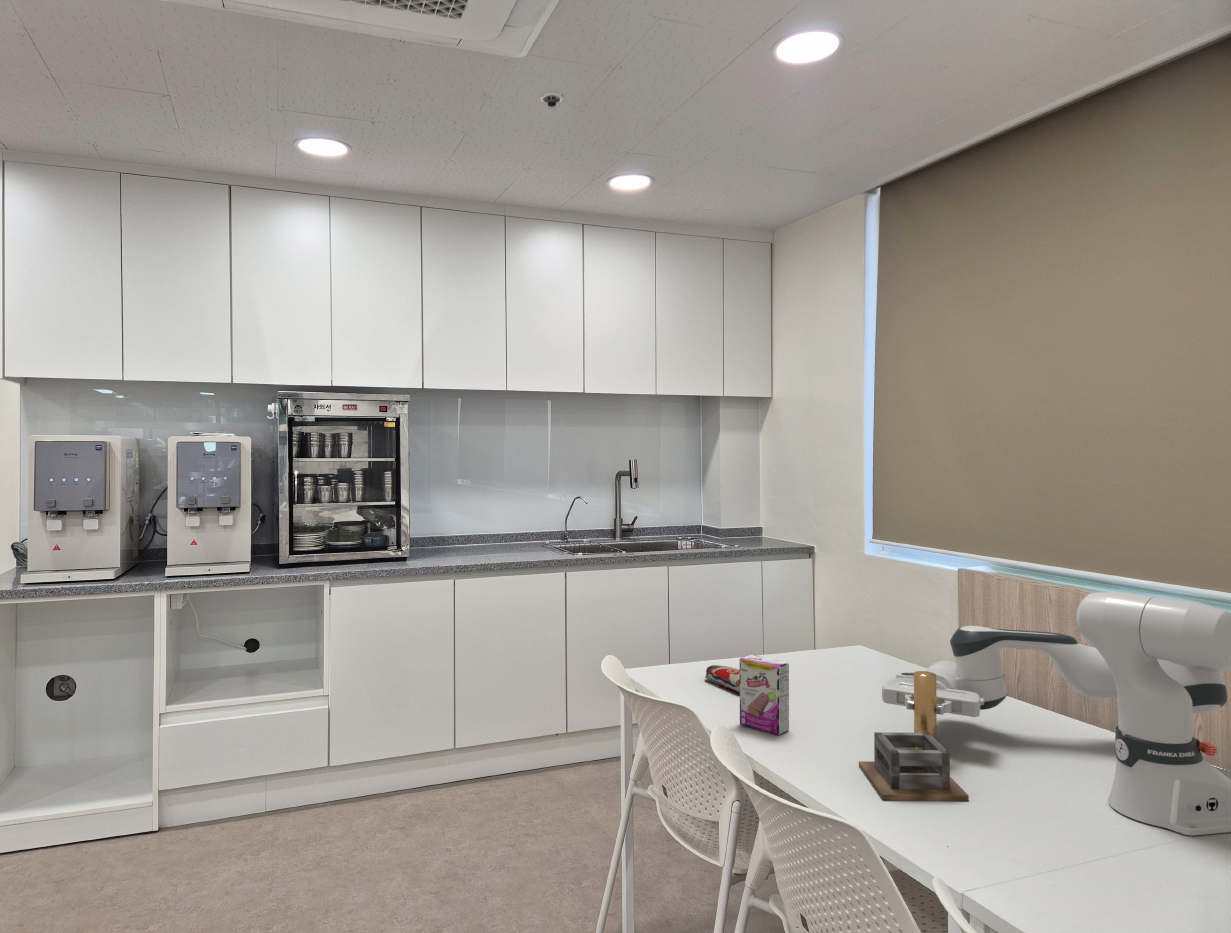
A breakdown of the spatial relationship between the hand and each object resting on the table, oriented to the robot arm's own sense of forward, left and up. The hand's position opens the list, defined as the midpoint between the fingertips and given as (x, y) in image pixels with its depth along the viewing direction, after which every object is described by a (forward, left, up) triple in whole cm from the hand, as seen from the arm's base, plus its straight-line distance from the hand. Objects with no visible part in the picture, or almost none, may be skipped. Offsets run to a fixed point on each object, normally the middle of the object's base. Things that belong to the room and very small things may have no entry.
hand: (924, 708), depth 165 cm
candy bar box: (+31, -18, -11) cm, 38 cm away
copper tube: (0, -1, -11) cm, 11 cm away
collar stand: (+7, +12, -11) cm, 18 cm away
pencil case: (+35, -52, -11) cm, 64 cm away
